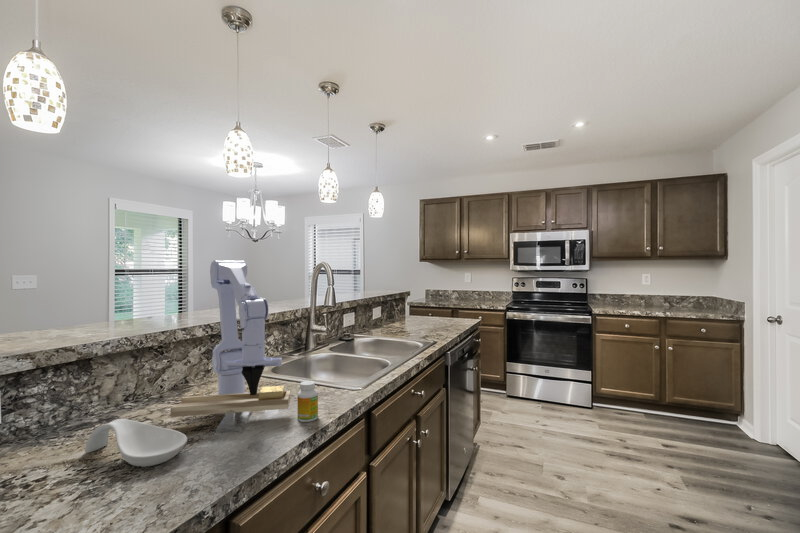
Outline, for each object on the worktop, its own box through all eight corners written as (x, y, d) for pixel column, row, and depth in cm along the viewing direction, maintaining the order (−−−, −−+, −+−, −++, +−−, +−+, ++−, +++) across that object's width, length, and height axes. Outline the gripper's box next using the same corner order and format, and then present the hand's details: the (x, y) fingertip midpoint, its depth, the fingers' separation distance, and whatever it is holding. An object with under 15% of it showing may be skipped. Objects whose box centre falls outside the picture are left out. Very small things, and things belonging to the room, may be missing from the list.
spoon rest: (199, 450, 82) (199, 418, 82) (151, 479, 70) (151, 442, 71) (120, 439, 88) (120, 409, 88) (64, 463, 77) (64, 429, 77)
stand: (228, 414, 102) (228, 398, 102) (251, 412, 103) (251, 396, 103) (216, 433, 90) (216, 414, 90) (242, 430, 91) (241, 412, 92)
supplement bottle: (312, 423, 96) (312, 386, 96) (293, 421, 97) (293, 385, 97) (321, 415, 101) (320, 380, 101) (303, 414, 102) (303, 379, 102)
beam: (182, 407, 98) (182, 396, 98) (290, 400, 104) (290, 389, 104) (170, 419, 90) (170, 407, 90) (287, 411, 96) (288, 399, 96)
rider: (261, 397, 101) (261, 386, 101) (284, 396, 102) (284, 385, 102) (258, 404, 96) (258, 392, 96) (282, 402, 97) (282, 391, 97)
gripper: (220, 348, 93) (220, 401, 92) (280, 345, 96) (280, 396, 96) (227, 342, 100) (227, 392, 99) (282, 340, 103) (282, 388, 102)
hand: (253, 394), depth 98 cm, fingers closed
